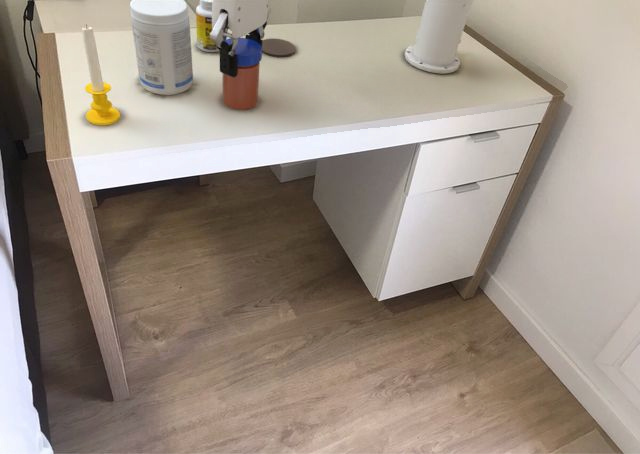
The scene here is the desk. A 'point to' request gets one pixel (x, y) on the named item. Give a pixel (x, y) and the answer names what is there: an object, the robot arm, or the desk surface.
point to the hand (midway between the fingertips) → (241, 65)
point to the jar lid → (247, 52)
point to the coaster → (277, 48)
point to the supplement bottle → (204, 26)
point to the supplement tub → (162, 45)
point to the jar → (242, 88)
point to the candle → (97, 85)
